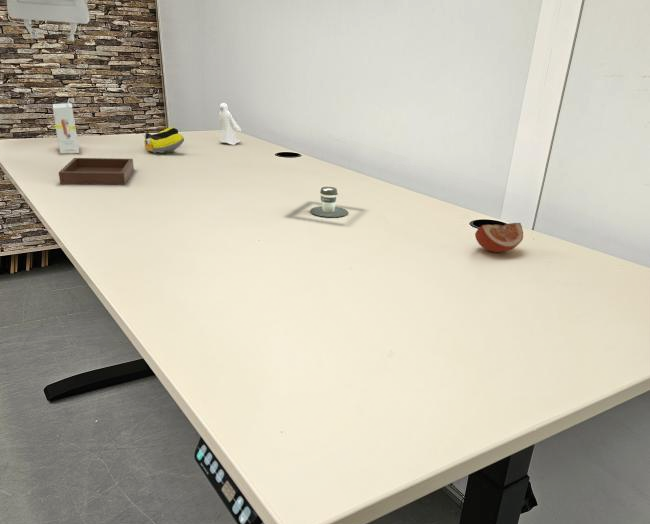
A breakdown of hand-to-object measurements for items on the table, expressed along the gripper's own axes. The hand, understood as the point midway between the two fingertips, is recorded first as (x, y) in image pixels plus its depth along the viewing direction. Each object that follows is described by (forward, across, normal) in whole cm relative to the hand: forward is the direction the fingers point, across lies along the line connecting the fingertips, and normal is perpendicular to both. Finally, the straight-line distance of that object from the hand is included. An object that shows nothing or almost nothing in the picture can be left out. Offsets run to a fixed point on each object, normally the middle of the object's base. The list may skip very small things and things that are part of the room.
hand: (52, 40), depth 162 cm
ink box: (+27, -4, +16) cm, 31 cm away
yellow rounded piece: (+26, -29, +13) cm, 41 cm away
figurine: (+26, -48, -1) cm, 55 cm away
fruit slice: (+25, -92, +99) cm, 138 cm away
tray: (+26, -17, +46) cm, 56 cm away
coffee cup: (+26, -66, +75) cm, 103 cm away
